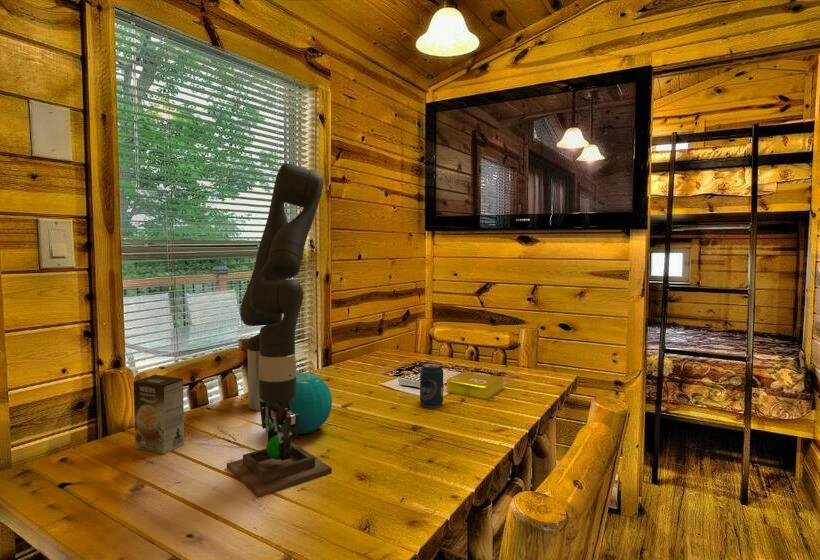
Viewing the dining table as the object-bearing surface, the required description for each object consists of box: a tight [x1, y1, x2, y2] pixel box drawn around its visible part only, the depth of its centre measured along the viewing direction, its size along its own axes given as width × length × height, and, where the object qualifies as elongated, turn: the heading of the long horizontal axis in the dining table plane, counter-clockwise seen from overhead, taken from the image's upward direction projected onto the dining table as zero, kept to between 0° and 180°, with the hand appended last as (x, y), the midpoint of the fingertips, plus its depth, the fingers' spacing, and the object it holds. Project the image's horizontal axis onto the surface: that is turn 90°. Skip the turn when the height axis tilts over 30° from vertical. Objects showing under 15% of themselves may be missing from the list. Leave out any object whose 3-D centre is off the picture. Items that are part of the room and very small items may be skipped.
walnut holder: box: [226, 441, 333, 498], centre depth 102 cm, size 16×16×3 cm
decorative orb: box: [279, 372, 333, 435], centre depth 123 cm, size 15×15×15 cm
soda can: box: [419, 362, 444, 408], centre depth 145 cm, size 7×7×12 cm
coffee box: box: [133, 374, 185, 455], centre depth 114 cm, size 9×6×16 cm
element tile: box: [446, 370, 504, 400], centre depth 161 cm, size 15×15×5 cm
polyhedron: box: [265, 435, 280, 460], centre depth 102 cm, size 5×5×5 cm
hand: (278, 454), depth 102 cm, fingers closed on polyhedron, 5 cm apart
